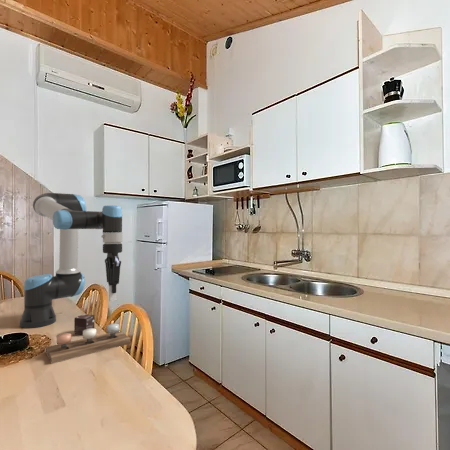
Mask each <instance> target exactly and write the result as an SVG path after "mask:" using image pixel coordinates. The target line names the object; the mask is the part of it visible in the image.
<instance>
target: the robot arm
mask: <svg viewBox="0 0 450 450" xmlns="http://www.w3.org/2000/svg"><path fill="white" fill-rule="evenodd" d="M32 209H33V211H34V212H35V213H36V214H38V215H39V216H42V217H46V218H49V219H50V220H52V224H53V227H54V228H55V229H57V230H59V255H58V257H59V259H58V260H59V261H58V262H59V264H58V267H59V268H58V269H57V270H56V271H55V275H54V276H53V275H52V273H45V274H43V273H42V274H37V275H33V276H30V277H28V278H26V279H25V281H24V285H23V286H24V287H23V292H24V293H23V296H24V297H23V300H24V301H23V304H24V305H23V307H24V308H23V311H22V315H21V318H20V320H19V326H20V327H21V328H25V329H34V328H40V327H45V326H46V327H47V326H49V325H52V324H54V323H56V321H57V315H56V312H55V310H54V307H53V300H58V299H64V298H72V297H77V296H79V295H81V294H82V293H83V291H84V289H85V286H86V285H85V284H86V279H85V275H84V274H83V273H81V272H82V271H81V270H80V269H79V268H78V265H79V264H78V263H79V262H78V259H79V250H78V249H79V230H102V235H101V238H102V253H103V254H106V258H105V259H104V263H105V264H104V265H105V274H106V283H107V284H108V301H109V302H115V301H118V290H117V289H118V284H120V274H121V266H122V265H121V264H122V261H121V260H120V258H119V253H122V252H123V244H122V242H123V211H122V207H121V206H120V205H103V207H102V210H101V211H95V210H94V211H92V210H91V211H89V210H88V211H87V204H86V201H85V199H84V197H83V196H81V195H80V194H73V193H61V192H60V193H59V192H58V193H57V192H45V193H42V194H39V195H37V196H36V197H35V198H34V199H33V201H32Z"/></svg>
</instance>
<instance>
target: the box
mask: <svg viewBox="0 0 450 450" xmlns="http://www.w3.org/2000/svg"><path fill="white" fill-rule="evenodd" d="M73 322H74V329H73V330H74V335H79V336H80V335H82V336H83V331H84V330H86V329H90V328H94V329H95V314H88V313H87V314H85V313H84V314H81V315H78V316H76V317H74V319H73Z"/></svg>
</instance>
